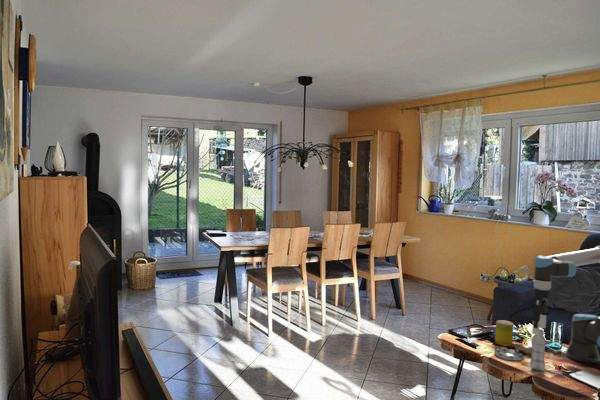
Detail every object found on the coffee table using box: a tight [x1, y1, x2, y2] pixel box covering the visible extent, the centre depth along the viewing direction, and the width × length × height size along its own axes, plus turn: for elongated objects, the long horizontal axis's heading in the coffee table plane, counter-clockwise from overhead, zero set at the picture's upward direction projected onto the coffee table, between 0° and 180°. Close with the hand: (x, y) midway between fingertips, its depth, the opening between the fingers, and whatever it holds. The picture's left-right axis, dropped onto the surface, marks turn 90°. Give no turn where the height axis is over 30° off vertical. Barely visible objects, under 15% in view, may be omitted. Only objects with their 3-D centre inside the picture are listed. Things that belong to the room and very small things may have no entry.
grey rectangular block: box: [514, 343, 532, 357], centre depth 252 cm, size 10×4×4 cm, turn 50°
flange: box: [493, 347, 524, 362], centre depth 249 cm, size 14×14×2 cm
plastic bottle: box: [529, 328, 547, 372], centre depth 231 cm, size 6×7×20 cm
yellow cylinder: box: [494, 319, 514, 347], centre depth 268 cm, size 9×9×12 cm
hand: (539, 331), depth 231 cm, fingers open, 13 cm apart
